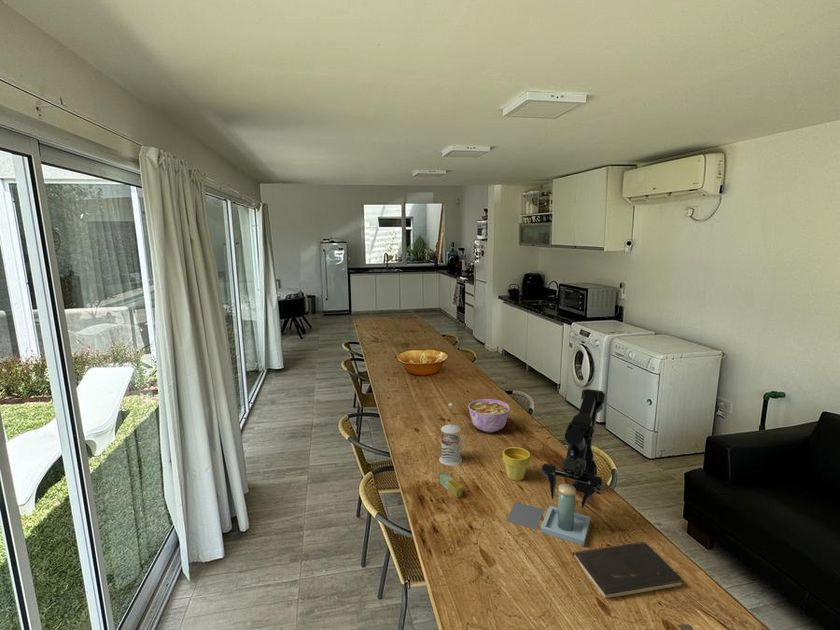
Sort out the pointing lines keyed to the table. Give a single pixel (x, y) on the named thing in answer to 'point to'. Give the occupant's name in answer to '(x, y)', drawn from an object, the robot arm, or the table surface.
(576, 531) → the dish
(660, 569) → the hardcover book
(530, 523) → the mat
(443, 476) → the medication box
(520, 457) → the plant pot
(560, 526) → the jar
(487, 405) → the bowl of food
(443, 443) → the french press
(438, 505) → the table surface
